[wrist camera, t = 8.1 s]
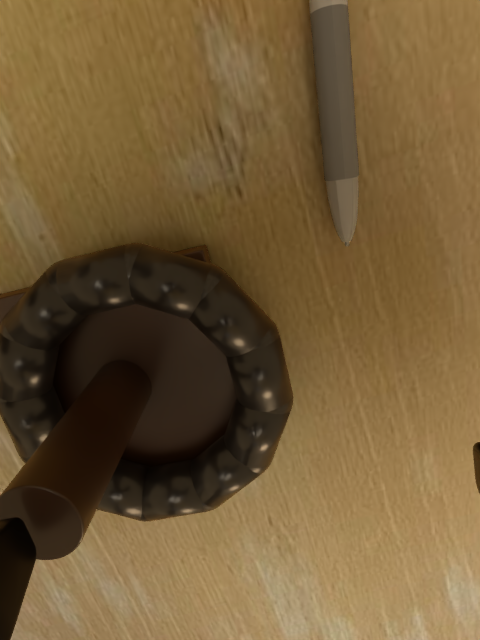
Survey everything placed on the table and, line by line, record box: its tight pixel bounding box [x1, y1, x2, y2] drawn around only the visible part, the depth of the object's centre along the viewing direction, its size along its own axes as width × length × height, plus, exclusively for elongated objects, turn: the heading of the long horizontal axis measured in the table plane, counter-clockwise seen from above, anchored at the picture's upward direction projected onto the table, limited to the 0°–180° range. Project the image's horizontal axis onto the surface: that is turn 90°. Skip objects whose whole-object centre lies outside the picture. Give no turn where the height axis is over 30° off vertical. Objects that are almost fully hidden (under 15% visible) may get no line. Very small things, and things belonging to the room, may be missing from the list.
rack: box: [0, 245, 237, 560], centre depth 13 cm, size 8×8×8 cm
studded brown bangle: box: [0, 243, 293, 521], centre depth 15 cm, size 10×10×2 cm
